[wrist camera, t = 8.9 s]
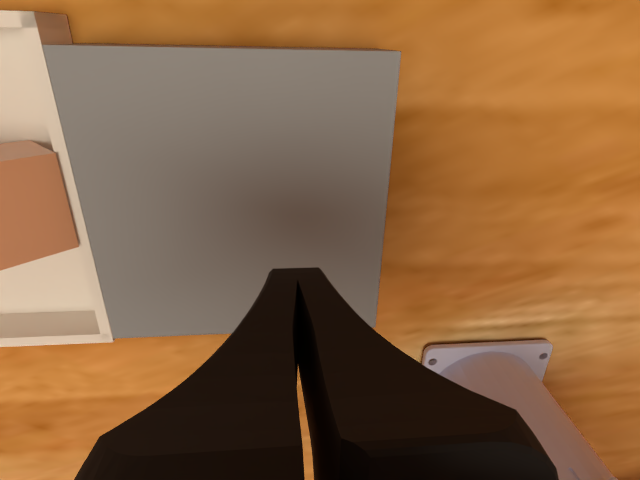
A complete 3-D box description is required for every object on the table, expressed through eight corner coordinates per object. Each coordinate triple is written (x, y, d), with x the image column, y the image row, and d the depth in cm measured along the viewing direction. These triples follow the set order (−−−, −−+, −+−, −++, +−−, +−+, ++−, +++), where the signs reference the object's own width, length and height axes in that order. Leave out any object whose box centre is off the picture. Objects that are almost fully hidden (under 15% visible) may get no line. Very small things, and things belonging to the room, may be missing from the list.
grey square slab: (361, 287, 23) (375, 327, 20) (136, 295, 22) (113, 338, 19) (379, 48, 18) (401, 51, 15) (85, 43, 17) (42, 44, 14)
